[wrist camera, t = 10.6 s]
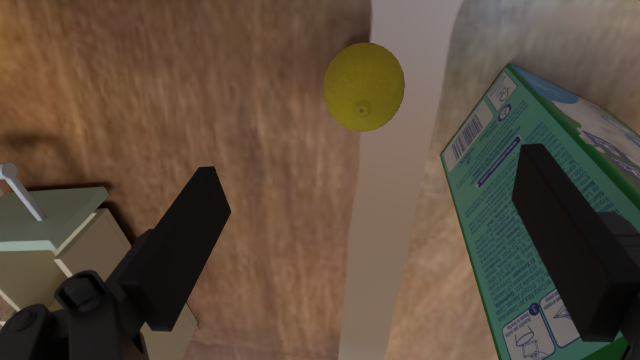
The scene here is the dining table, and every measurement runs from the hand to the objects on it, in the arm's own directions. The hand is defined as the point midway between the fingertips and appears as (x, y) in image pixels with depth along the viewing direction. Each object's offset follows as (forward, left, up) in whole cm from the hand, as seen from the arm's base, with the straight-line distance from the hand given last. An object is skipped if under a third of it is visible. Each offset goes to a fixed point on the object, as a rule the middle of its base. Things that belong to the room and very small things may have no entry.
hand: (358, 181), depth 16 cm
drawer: (+12, -34, -14) cm, 39 cm away
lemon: (0, 0, -15) cm, 15 cm away
